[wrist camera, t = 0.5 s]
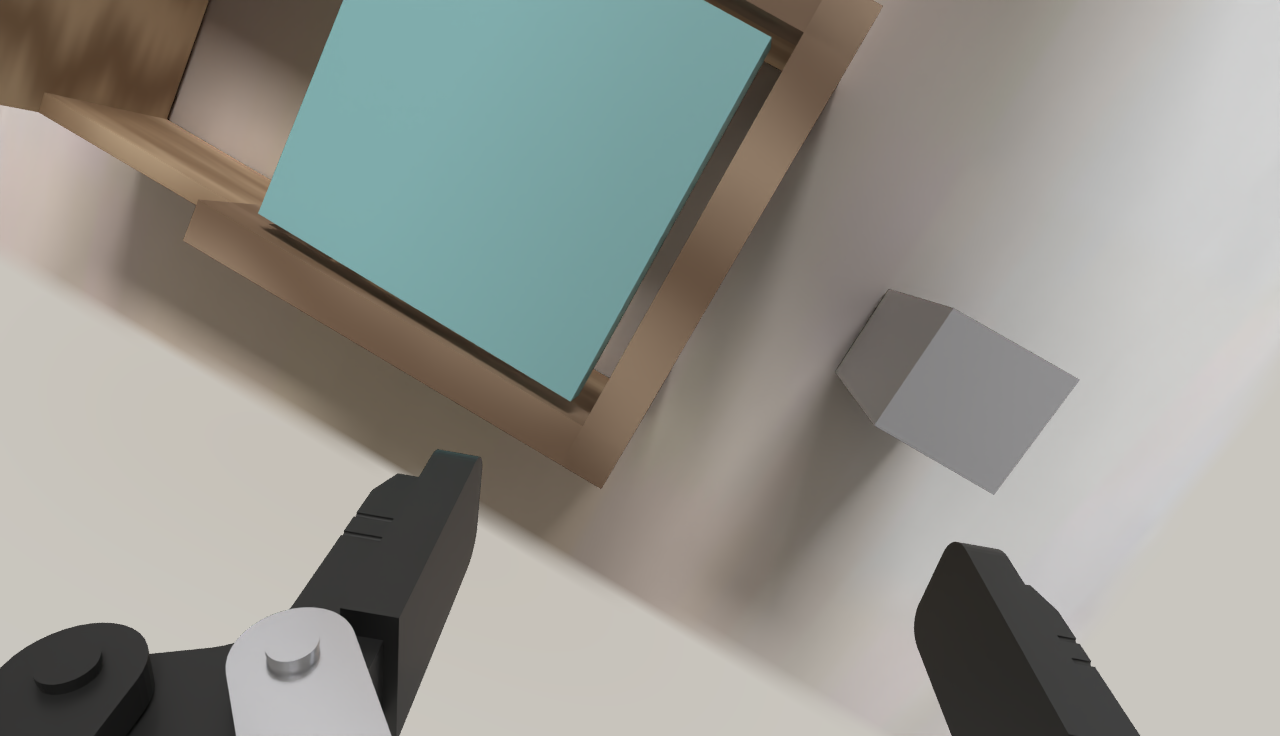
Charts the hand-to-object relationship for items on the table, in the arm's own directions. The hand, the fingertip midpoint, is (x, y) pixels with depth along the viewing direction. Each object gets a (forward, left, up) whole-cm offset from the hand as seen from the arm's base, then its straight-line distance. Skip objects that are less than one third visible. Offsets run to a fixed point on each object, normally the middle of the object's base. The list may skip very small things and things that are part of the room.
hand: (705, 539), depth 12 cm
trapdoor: (-4, -10, -11) cm, 15 cm away
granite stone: (-4, +8, -25) cm, 27 cm away
